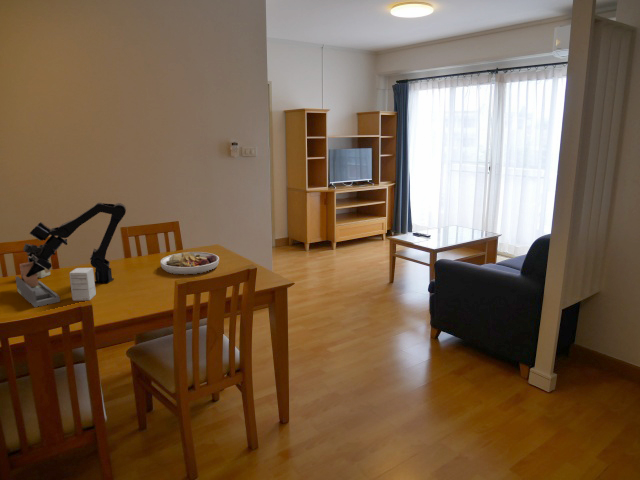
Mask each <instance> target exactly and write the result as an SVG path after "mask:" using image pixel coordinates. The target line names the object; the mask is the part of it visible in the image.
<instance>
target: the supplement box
mask: <svg viewBox="0 0 640 480" xmlns="http://www.w3.org/2000/svg"><path fill="white" fill-rule="evenodd" d="M68 275H69V282H70V289H71V297H72V301H74V302H75V301H91V300H92V299H93V298H95V296H96V294H97V291H96V283H95V281H96V280H95V272H94V267H76V268H74V269H73V270H71V271H70V272H69V273H68Z"/></svg>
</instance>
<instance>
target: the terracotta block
mask: <svg viewBox="0 0 640 480" xmlns="http://www.w3.org/2000/svg"><path fill="white" fill-rule="evenodd" d="M32 266H33V263H32V262H28V261H27V262H23V263H19V269H20V276H21V277H20V278H21V279H22V280H23V281H24V282H25V283H27V284H28V285H29V286H30V287H33V286H38V281H39V279H38V277H37V273H36V274H34V275H32V276H30V277H27V276H26V275H27V273H28V272H29V270H30V269H31V267H32Z"/></svg>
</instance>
